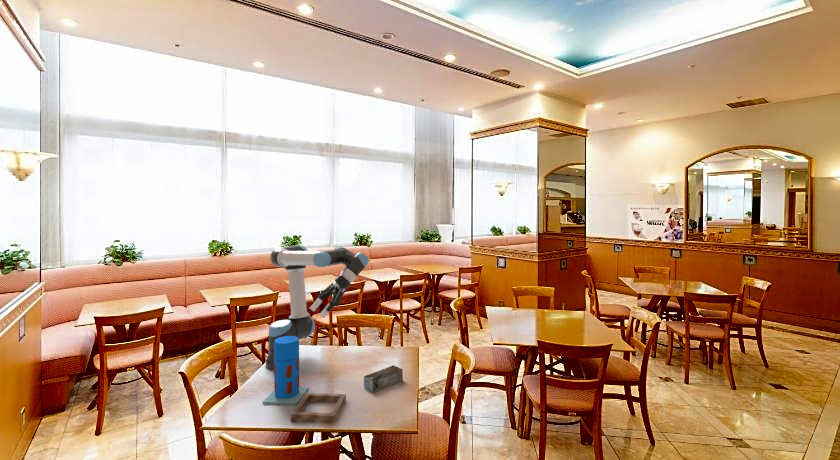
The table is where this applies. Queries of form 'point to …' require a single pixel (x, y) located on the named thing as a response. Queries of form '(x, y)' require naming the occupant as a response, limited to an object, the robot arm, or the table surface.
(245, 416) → the table surface
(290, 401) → the mat
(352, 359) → the table surface
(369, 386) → the beverage carton
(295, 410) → the dock
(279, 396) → the thermos
